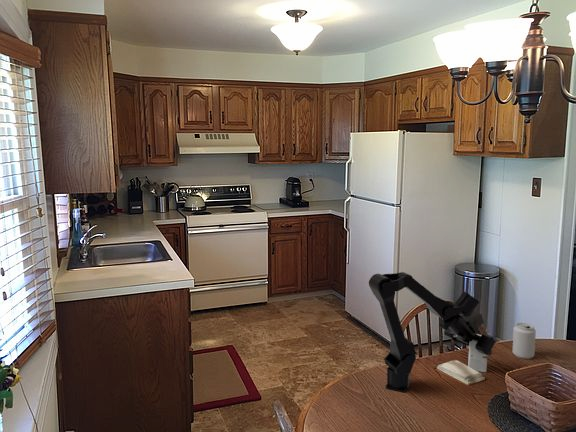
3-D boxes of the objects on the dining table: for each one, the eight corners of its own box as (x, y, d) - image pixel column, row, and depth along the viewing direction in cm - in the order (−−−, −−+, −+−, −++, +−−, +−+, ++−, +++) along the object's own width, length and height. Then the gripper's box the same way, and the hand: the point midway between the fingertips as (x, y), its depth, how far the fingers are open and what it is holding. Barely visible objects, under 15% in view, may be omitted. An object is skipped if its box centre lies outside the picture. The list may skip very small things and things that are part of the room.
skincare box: (468, 370, 171) (469, 337, 170) (467, 365, 175) (468, 333, 174) (487, 372, 169) (488, 339, 168) (486, 367, 174) (487, 334, 172)
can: (532, 361, 177) (533, 330, 176) (510, 356, 182) (511, 326, 180) (536, 354, 183) (537, 324, 181) (515, 349, 188) (516, 320, 186)
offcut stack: (467, 385, 161) (467, 378, 160) (436, 368, 173) (436, 362, 173) (484, 379, 164) (485, 372, 164) (453, 363, 177) (453, 357, 176)
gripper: (493, 314, 159) (514, 339, 165) (450, 299, 176) (471, 323, 182) (475, 342, 157) (497, 366, 163) (433, 324, 173) (455, 347, 180)
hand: (480, 349), depth 172 cm, fingers open, 9 cm apart
